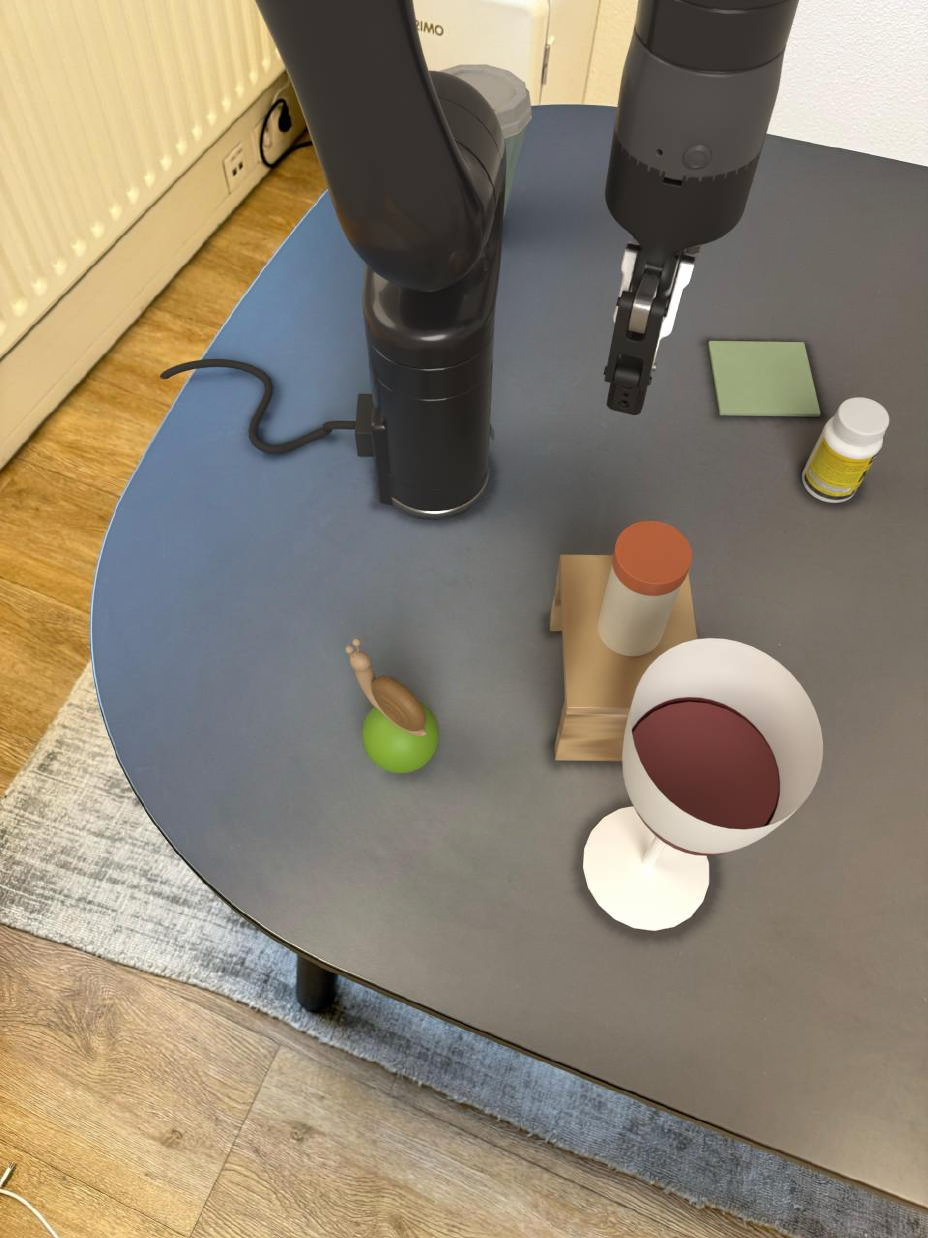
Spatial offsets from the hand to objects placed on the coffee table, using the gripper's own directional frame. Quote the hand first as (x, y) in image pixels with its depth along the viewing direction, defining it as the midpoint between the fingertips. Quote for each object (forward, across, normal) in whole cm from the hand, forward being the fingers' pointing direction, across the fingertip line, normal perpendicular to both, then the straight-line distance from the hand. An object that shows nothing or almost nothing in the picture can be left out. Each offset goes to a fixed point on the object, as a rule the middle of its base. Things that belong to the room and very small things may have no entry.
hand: (639, 361), depth 62 cm
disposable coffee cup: (+21, -35, -22) cm, 46 cm away
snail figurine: (+21, +22, -10) cm, 32 cm away
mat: (+20, -23, +10) cm, 32 cm away
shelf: (+20, +13, +4) cm, 24 cm away
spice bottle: (+11, +13, +4) cm, 17 cm away
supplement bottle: (+21, -12, +17) cm, 30 cm away
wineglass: (+21, +25, +10) cm, 34 cm away
